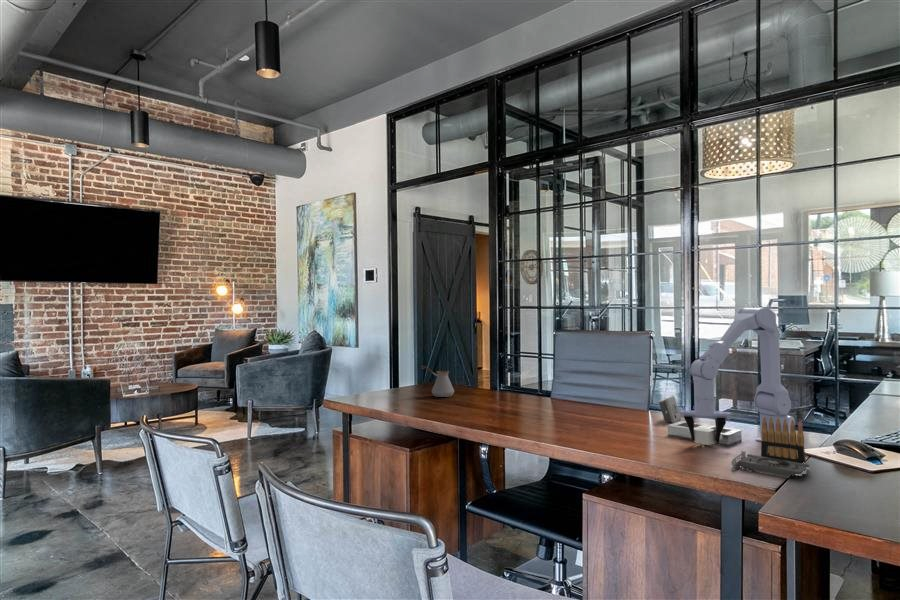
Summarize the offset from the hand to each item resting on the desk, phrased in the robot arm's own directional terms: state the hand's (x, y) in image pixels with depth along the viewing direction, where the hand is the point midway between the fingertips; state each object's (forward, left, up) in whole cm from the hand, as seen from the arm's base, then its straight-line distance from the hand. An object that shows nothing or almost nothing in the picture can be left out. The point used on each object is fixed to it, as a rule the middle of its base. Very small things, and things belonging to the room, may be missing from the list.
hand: (705, 441), depth 171 cm
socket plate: (+5, -10, -2) cm, 11 cm away
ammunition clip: (-22, 0, -2) cm, 22 cm away
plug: (0, 0, -2) cm, 2 cm away
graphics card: (-23, +14, -2) cm, 27 cm away
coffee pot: (+137, -1, -2) cm, 137 cm away
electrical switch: (+26, -28, -2) cm, 38 cm away
